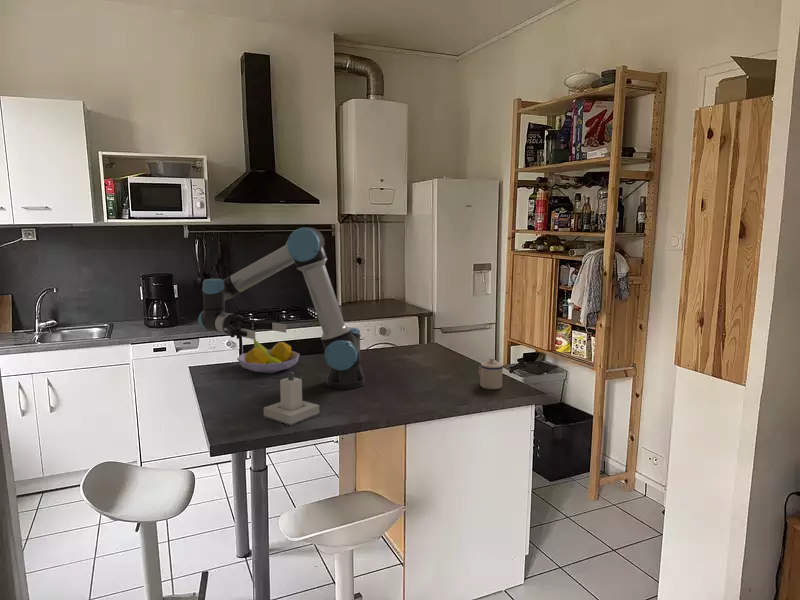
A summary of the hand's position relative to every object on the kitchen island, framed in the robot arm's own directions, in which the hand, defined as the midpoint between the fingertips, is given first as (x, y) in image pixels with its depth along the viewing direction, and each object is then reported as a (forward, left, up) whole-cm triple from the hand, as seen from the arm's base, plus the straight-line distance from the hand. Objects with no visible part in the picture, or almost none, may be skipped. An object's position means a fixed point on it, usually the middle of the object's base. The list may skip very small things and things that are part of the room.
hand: (270, 331), depth 186 cm
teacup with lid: (-85, -11, -28) cm, 90 cm away
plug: (-6, +8, -27) cm, 29 cm away
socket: (-5, +6, -28) cm, 29 cm away
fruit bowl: (+1, -55, -28) cm, 62 cm away
